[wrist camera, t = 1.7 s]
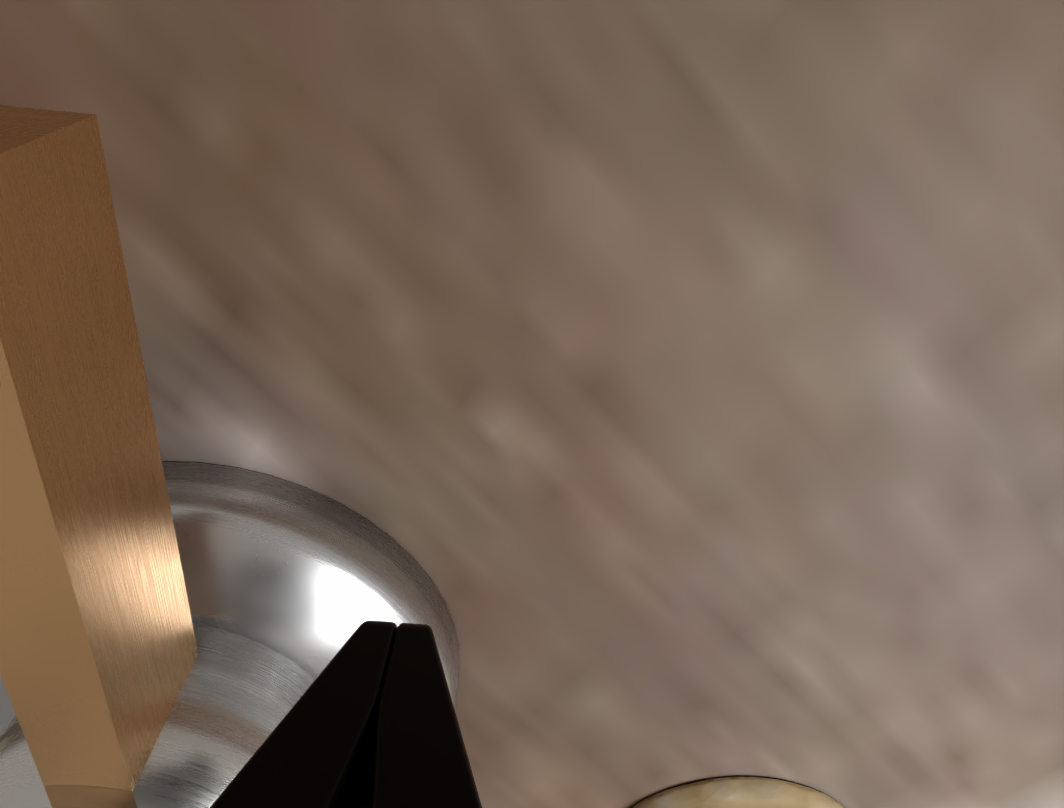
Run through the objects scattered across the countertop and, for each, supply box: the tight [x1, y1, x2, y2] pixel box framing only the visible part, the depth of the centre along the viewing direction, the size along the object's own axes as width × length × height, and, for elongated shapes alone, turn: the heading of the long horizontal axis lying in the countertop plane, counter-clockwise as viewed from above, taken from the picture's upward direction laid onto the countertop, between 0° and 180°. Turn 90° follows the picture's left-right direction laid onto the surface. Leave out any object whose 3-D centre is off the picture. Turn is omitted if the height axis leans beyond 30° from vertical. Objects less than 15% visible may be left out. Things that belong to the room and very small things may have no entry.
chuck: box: [0, 105, 315, 808], centre depth 12 cm, size 18×7×8 cm, turn 175°
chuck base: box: [0, 462, 460, 737], centre depth 19 cm, size 12×12×2 cm
